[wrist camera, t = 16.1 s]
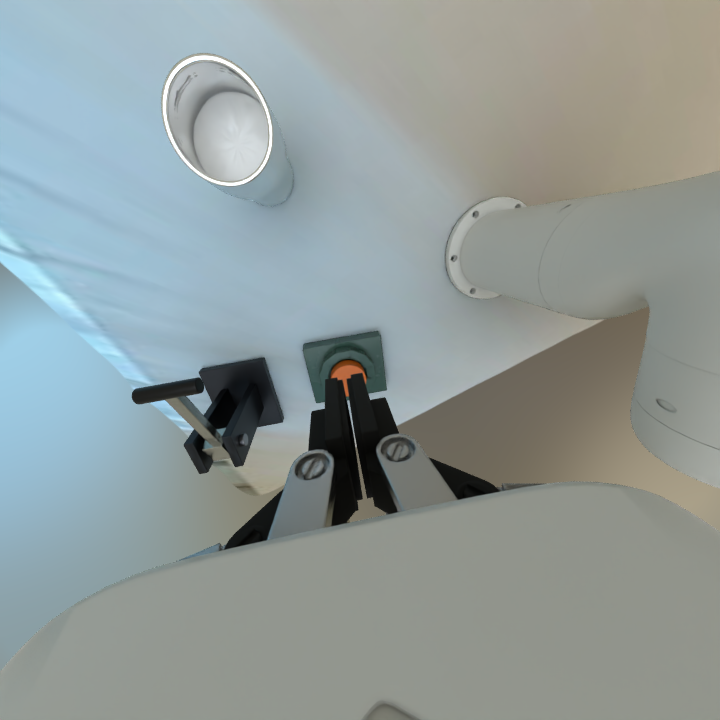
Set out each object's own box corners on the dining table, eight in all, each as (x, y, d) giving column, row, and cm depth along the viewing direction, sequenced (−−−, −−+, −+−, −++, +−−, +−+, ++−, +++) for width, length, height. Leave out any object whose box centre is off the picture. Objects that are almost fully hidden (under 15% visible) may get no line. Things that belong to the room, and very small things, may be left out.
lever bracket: (201, 368, 39) (148, 423, 27) (264, 357, 39) (238, 407, 28) (228, 428, 43) (193, 497, 32) (283, 417, 44) (269, 482, 32)
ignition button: (362, 357, 37) (363, 362, 35) (366, 386, 39) (368, 393, 37) (327, 363, 37) (327, 368, 35) (334, 392, 39) (334, 399, 37)
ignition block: (377, 330, 39) (383, 339, 36) (384, 383, 43) (389, 396, 40) (303, 343, 39) (301, 354, 35) (316, 395, 43) (315, 410, 39)
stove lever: (138, 381, 24) (126, 402, 23) (199, 370, 25) (191, 390, 23) (204, 445, 33) (199, 464, 31) (249, 436, 33) (246, 454, 32)
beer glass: (310, 188, 31) (298, 149, 18) (262, 223, 32) (216, 212, 19) (270, 122, 28) (221, 15, 15) (219, 162, 29) (128, 97, 16)
